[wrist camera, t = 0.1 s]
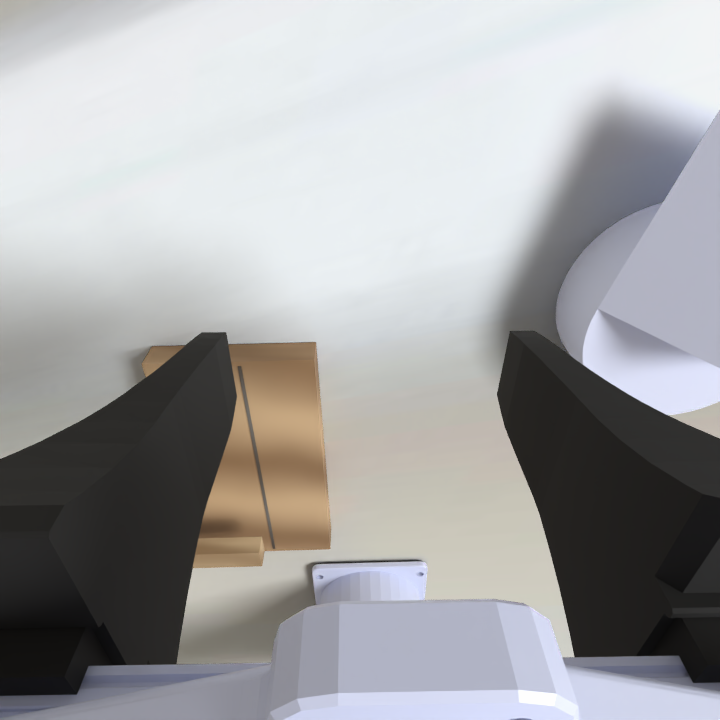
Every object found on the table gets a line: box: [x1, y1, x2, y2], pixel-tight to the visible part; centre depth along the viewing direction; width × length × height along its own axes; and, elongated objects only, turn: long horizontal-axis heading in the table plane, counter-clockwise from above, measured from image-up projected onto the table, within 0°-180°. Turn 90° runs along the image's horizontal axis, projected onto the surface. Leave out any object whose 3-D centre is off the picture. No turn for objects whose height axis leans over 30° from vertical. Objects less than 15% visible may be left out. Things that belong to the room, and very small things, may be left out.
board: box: [142, 342, 331, 551], centre depth 28 cm, size 14×8×2 cm, turn 1°
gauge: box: [193, 537, 264, 568], centre depth 28 cm, size 4×9×7 cm, turn 91°
